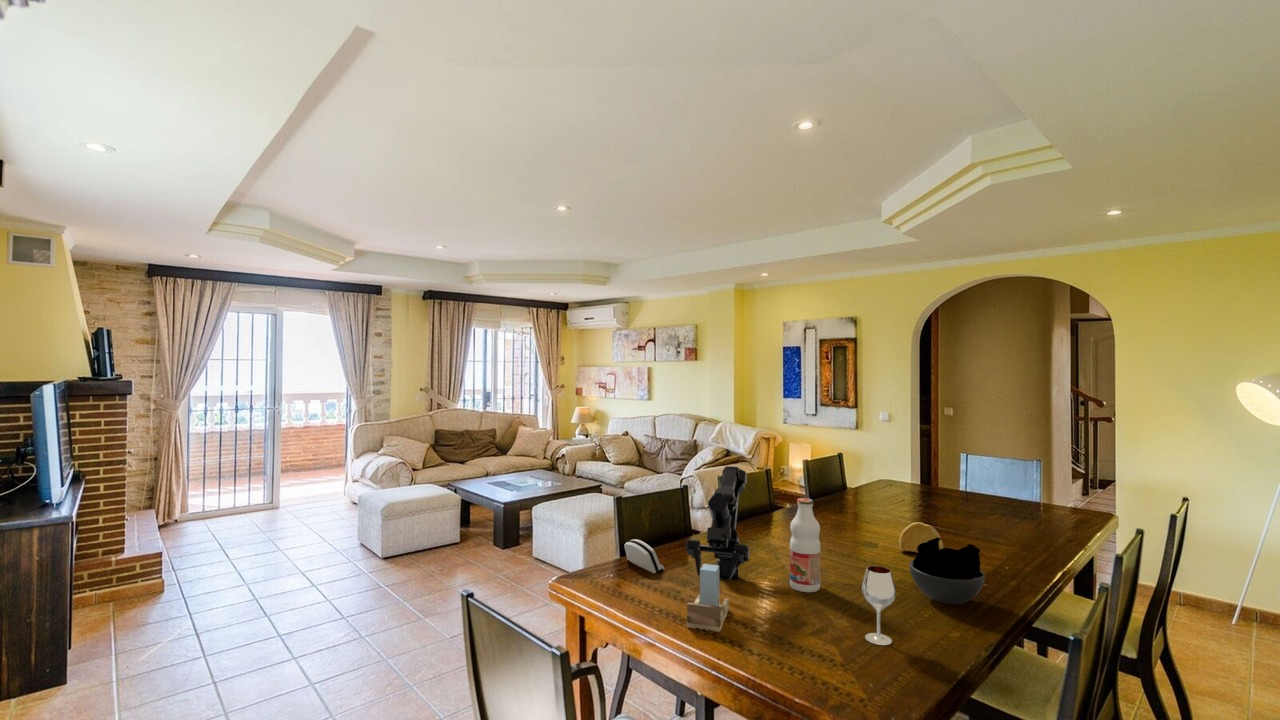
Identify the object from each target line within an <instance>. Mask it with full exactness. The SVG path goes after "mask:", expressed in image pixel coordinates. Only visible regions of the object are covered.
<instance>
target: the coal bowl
mask: <svg viewBox="0 0 1280 720" xmlns="http://www.w3.org/2000/svg"><path fill="white" fill-rule="evenodd" d="M940 539H941V540H942V537H941V538H934V539H932V540H928V542H925V543H921V544H920V545H919V546H918V547H917V550H918V553H917V554H916V557H915V558H914V559H911V560H910V561H909V570H910V571H909V572H910V574H911V577H912V580H913V581H914V583H915V585H916V587H918V589H919V590H921V592H922V593H923V594H925V596H927V597H928V598H930V599H932V600H933V601H936V602H938V603H941V604H947V605H959V604H964V603H967V602H969V601H971V600H972V599H974V598H975V597H976V596H977V595H978V594H979V593H980V591H981V590H982V588H983V586H984V582H985V578H986V577H985V575H986V574H985V573H984V571H983V570H981V560H980V558H981V557H980V555H979V554H980V552H981V551H980V548H978V547H976V546H975V544H969V543H968V544H967V545H966V546H963V547H961V548H960V549H954V548H949V547H943V548H942V549H940V548H939V541H940Z"/></svg>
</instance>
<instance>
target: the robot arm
mask: <svg viewBox="0 0 1280 720" xmlns="http://www.w3.org/2000/svg"><path fill="white" fill-rule="evenodd" d="M721 473H722V474H721V484H720V487H718V488H716V489H715V490H714V493H713V494H712V495H711V497H710V498H709V500H708V502H707V503H708V505H707V506H708V509H709V514H710V517H711V524H710V525H711V526H710V527H706V529H707V532H706V542H707V543H708V544H701V541H700V539H692V538H691V539H690V538H688V539H687V540H686V542H685V551H686V553H687V555H688V556H690V557H691V559H694V562H695V567H696V573H697V577H700V569H701V567H702V552H703V553H704V552H705V553H713V554H714V556H713V557H714V559H717V560H716V562H715V563H716V564H715V565H719V580H729V581H730V580H740V579H741V578H740V575H739V567H740V566H741V564H742V565H744V564H745V562H749V561H750V555H751V554H750V549H749V546H748V544H742V543H741V542H740V540H739V535H738V532H737V529H736V528H737V520H738V507H739V499H740V496H741V494H742V493H743V492H744V490H745V485H747V483H748V473H747V472H746V471H745V470H743V469H740V467H738V466H729V465H727V466H724V469H722V472H721Z"/></svg>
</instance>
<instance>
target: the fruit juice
mask: <svg viewBox="0 0 1280 720" xmlns="http://www.w3.org/2000/svg"><path fill="white" fill-rule="evenodd" d="M796 500H797V501H796V504H797V512H796V513H795V516H794V517H793V519H792V521H790V532H791V537H790V541H789V586H790V587H791V589H793V590H795V591H797V592H802V593H816V592H818V591H819V590H820V589H821V541H820V539H819V536H820V532H821V527H820V524H819V522H818V520H817V518H815V516H814V511H813V506H814V500H813V499H811V498H806V497H804V498H803V497H800V498H797V499H796Z"/></svg>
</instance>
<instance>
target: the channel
mask: <svg viewBox="0 0 1280 720" xmlns="http://www.w3.org/2000/svg"><path fill="white" fill-rule="evenodd" d="M729 600H730V598H725V597H724V599H723V601H722V603H721V604H719V606H712V605H704V604H700V594H698V595H697V597H695V600H694V602H687V604H686V627H687V628H689V629H696V628H699V629H698V630H703V629H705V630H704V631H709V630H711V631H710V632H718V633H720V632H721V630H722V628H723V625H724V623H725V620H726V618H727V614H728V613H727V612H729V610H730V609H729V607H730V605H729V603H730V601H729Z"/></svg>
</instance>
